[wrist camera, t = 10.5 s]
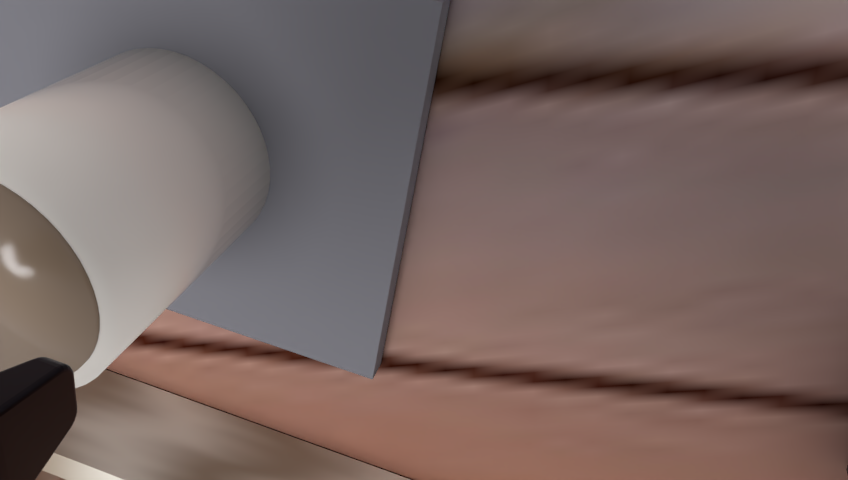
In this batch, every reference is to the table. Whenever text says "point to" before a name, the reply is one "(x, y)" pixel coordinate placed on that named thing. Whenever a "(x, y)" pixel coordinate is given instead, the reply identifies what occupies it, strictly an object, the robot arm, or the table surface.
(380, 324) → the mat
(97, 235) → the pot
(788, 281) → the table surface
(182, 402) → the beige square frame
